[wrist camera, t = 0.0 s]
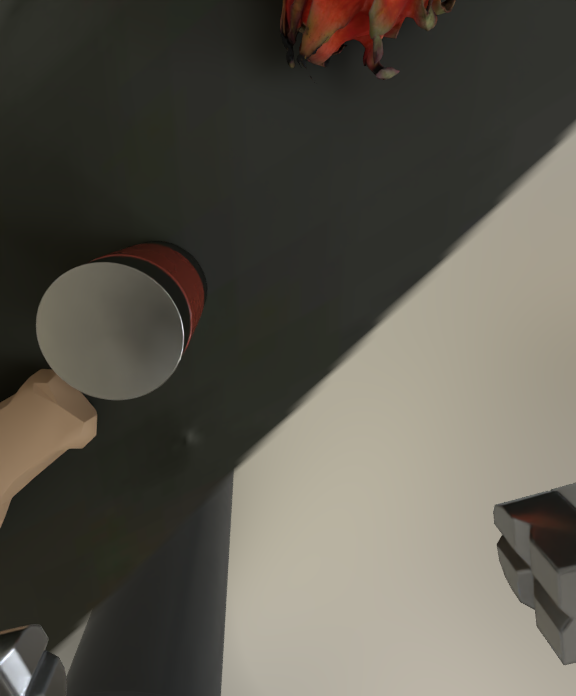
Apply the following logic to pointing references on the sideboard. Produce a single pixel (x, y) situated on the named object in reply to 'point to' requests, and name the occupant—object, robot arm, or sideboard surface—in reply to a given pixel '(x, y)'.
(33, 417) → the squash
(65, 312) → the tin
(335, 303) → the sideboard surface
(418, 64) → the sideboard surface
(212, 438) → the sideboard surface
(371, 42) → the dragon fruit
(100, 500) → the sideboard surface
